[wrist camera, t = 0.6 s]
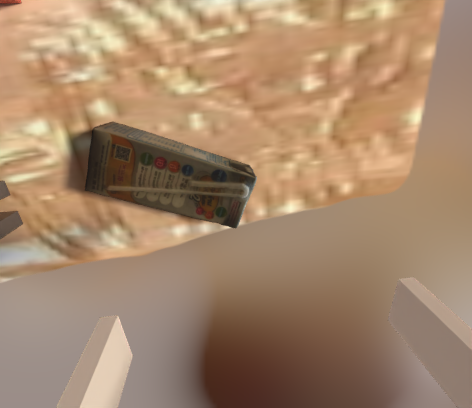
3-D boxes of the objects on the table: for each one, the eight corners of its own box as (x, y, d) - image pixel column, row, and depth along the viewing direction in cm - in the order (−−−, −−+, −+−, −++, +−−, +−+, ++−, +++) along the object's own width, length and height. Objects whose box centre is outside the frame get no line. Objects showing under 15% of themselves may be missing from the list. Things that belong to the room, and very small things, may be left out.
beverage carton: (233, 213, 38) (238, 234, 32) (101, 176, 34) (77, 193, 28) (251, 164, 35) (260, 178, 29) (110, 118, 31) (85, 123, 25)
